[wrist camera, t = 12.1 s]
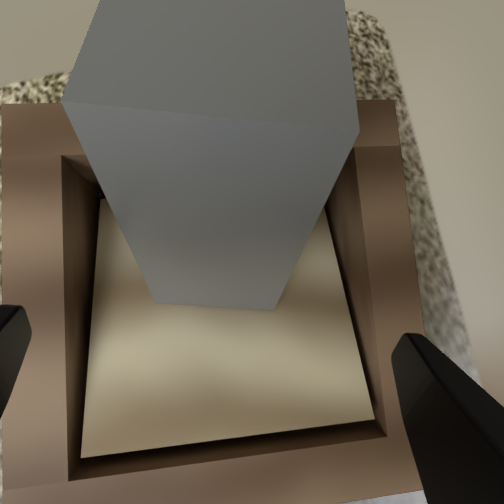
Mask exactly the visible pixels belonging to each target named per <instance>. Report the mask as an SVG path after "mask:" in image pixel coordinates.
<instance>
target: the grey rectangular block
mask: <svg viewBox="0 0 504 504" xmlns="http://www.w3.org/2000/svg"><path fill="white" fill-rule="evenodd" d="M61 103H62V105H63V107H64V109H65V112H66V114H67V116H68V118H69V120H70V122H71V124H72V126H73V129H74V131H75V133H76V135H77V137H78V139H79V141H80V143H81V146H82V148H83V150H84V152H85V154H86V156H87V158H88V160H89V163H90V165H91V167H92V169H93V171H94V173H95V175H96V177H97V180H98V182H99V184H100V186H101V188H102V190H103V192H104V194H105V197H106V199H107V201H108V203H109V205H110V207H111V209H112V211H113V214H114V216H115V218H116V220H117V222H118V224H119V226H120V228H121V231H122V233H123V235H124V237H125V239H126V241H127V243H128V245H129V248H130V250H131V252H132V254H133V256H134V258H135V260H136V262H137V265H138V267H139V269H140V271H141V273H142V275H143V277H144V279H145V282H146V284H147V286H148V288H149V290H150V292H151V294H152V297H153V299H154V301H155V303H165V304H180V305H194V306H209V307H223V308H238V309H252V310H267V311H274V309H275V307H276V305H277V303H278V301H279V299H280V297H281V295H282V292H283V290H284V288H285V286H286V284H287V282H288V280H289V278H290V276H291V274H292V272H293V269H294V267H295V265H296V263H297V261H298V259H299V257H300V255H301V253H302V251H303V249H304V247H305V244H306V242H307V240H308V238H309V236H310V234H311V232H312V230H313V228H314V226H315V224H316V222H317V219H318V217H319V215H320V213H321V211H322V209H323V207H324V205H325V203H326V201H327V199H328V197H329V194H330V192H331V190H332V188H333V186H334V184H335V182H336V180H337V178H338V176H339V174H340V172H341V169H342V167H343V165H344V163H345V161H346V159H347V157H348V155H349V153H350V151H351V149H352V147H353V144H354V142H355V140H356V138H357V136H358V134H359V132H360V128H359V119H358V111H357V103H356V94H355V86H354V78H353V69H352V61H351V53H350V44H349V36H348V28H347V19H346V11H345V4H344V0H100V2H99V4H98V7H97V10H96V12H95V15H94V17H93V20H92V23H91V25H90V27H89V31H88V32H87V35H86V38H85V40H84V43H83V45H82V48H81V50H80V53H79V55H78V58H77V60H76V63H75V65H74V68H73V71H72V73H71V76H70V78H69V81H68V83H67V86H66V88H65V91H64V93H63V96H62V98H61Z"/></svg>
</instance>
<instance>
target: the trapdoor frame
mask: <svg viewBox="0 0 504 504" xmlns="http://www.w3.org/2000/svg"><path fill="white" fill-rule="evenodd" d="M356 103H357V111H358V119H359V128H360V132H359V134H358V136H357V138H356V140H355V142H354V144H353V147H352V149H351V151H350V153H349V155H348V157H347V159H346V161H345V163H344V165H343V167H342V169H341V172H340V174H339V176H338V178H337V180H336V182H335V184H334V186H333V188H332V190H331V192H330V194H329V197H328V199H327V201H326V203H325V205H324V209H325V213H326V217H327V221H328V225H329V230H330V234H331V238H332V242H333V246H334V251H335V255H336V259H337V263H338V267H339V271H340V276H341V280H342V284H343V288H344V292H345V297H346V301H347V305H348V309H349V313H350V317H351V322H352V326H353V330H354V334H355V338H356V343H357V347H358V351H359V355H360V359H361V364H362V368H363V372H364V376H365V380H366V384H367V389H368V393H369V397H370V401H371V405H372V410H373V414H374V418H375V419H372V420H365V421H357V422H349V423H342V424H334V425H327V426H319V427H312V428H304V429H297V430H289V431H282V432H274V433H266V434H259V435H251V436H244V437H236V438H229V439H221V440H214V441H206V442H198V443H191V444H183V445H176V446H168V447H161V448H153V449H146V450H138V451H130V452H123V453H115V454H108V455H100V456H93V457H85V458H81V449H82V436H83V423H84V410H85V397H86V384H87V371H88V358H89V345H90V332H91V319H92V306H93V293H94V280H95V267H96V254H97V241H98V202H97V190H102V188H101V186H100V184H99V182H98V180H97V177H96V175H95V173H94V171H93V169H92V167H91V165H90V163H89V160H88V158H87V156H86V154H85V152H84V150H83V148H82V146H81V143H80V141H79V139H78V137H77V135H76V133H75V131H74V129H73V126H72V124H71V122H70V120H69V118H68V116H67V114H66V112H65V109H64V107H63V105H62V103H40V104H2V305H3V304H12V305H21V306H23V307H24V308H25V310H26V313H27V316H28V319H29V322H30V325H31V329H32V337H31V341H30V344H29V346H28V349H27V352H26V355H25V357H24V360H23V363H22V366H21V369H20V371H19V374H18V377H17V380H16V382H15V385H14V388H13V391H12V394H11V396H10V399H9V401H8V404H7V406H6V408H5V410H4V412H3V415H2V449H3V504H339V503H345V502H351V501H357V500H364V499H370V498H376V497H382V496H388V495H394V494H401V493H407V492H413V491H419V490H423V487H422V483H421V480H420V477H419V473H418V470H417V467H416V463H415V460H414V457H413V454H412V450H411V447H410V444H409V440H408V437H407V434H406V430H405V427H404V423H403V419H402V415H401V411H400V405H399V400H398V395H397V390H396V385H395V379H394V374H393V369H392V364H391V354H392V352H393V350H394V348H395V346H396V345H397V343H398V341H399V340H400V338H401V336H402V335H403V334H404V333H419V334H422V335H423V336H425V330H424V323H423V315H422V307H421V300H420V292H419V285H418V277H417V269H416V262H415V254H414V246H413V239H412V231H411V224H410V216H409V208H408V201H407V193H406V185H405V178H404V170H403V163H402V155H401V147H400V140H399V132H398V124H397V117H396V109H395V102H394V100H356Z"/></svg>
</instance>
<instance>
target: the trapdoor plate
mask: <svg viewBox="0 0 504 504" xmlns="http://www.w3.org/2000/svg"><path fill="white" fill-rule="evenodd" d="M372 419H375V418H374V414H373V410H372V405H371V401H370V397H369V393H368V389H367V384H366V380H365V376H364V372H363V368H362V364H361V359H360V355H359V351H358V347H357V343H356V338H355V334H354V330H353V326H352V322H351V317H350V313H349V309H348V305H347V301H346V297H345V292H344V288H343V284H342V280H341V276H340V271H339V267H338V263H337V259H336V255H335V251H334V246H333V242H332V238H331V234H330V230H329V225H328V221H327V217H326V213H325V209H324V207H323V209H322V211H321V213H320V215H319V217H318V219H317V222H316V224H315V226H314V228H313V230H312V232H311V234H310V236H309V238H308V240H307V242H306V244H305V247H304V249H303V251H302V253H301V255H300V257H299V259H298V261H297V263H296V265H295V267H294V269H293V272H292V274H291V276H290V278H289V280H288V282H287V284H286V286H285V288H284V290H283V292H282V295H281V297H280V299H279V301H278V303H277V305H276V307H275V309H274V311H267V310H252V309H238V308H223V307H209V306H194V305H180V304H165V303H155V301H154V299H153V297H152V294H151V292H150V290H149V288H148V286H147V284H146V282H145V279H144V277H143V275H142V273H141V271H140V269H139V267H138V265H137V262H136V260H135V258H134V256H133V254H132V252H131V250H130V248H129V245H128V243H127V241H126V239H125V237H124V235H123V233H122V231H121V228H120V226H119V224H118V222H117V220H116V218H115V216H114V214H113V211H112V209H111V207H110V205H109V203H108V201H107V199H101V202H100V215H99V228H98V241H97V254H96V267H95V280H94V293H93V306H92V319H91V332H90V345H89V358H88V371H87V384H86V397H85V410H84V423H83V436H82V449H81V458H85V457H93V456H100V455H108V454H115V453H123V452H130V451H138V450H146V449H153V448H161V447H168V446H176V445H183V444H191V443H198V442H206V441H214V440H221V439H229V438H236V437H244V436H251V435H259V434H266V433H274V432H282V431H289V430H297V429H304V428H312V427H319V426H327V425H334V424H342V423H349V422H357V421H365V420H372Z"/></svg>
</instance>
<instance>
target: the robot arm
mask: <svg viewBox="0 0 504 504" xmlns="http://www.w3.org/2000/svg"><path fill="white" fill-rule="evenodd" d="M31 337H32V329H31V325H30V322H29V319H28V316H27V313H26V310H25V308H24V307H23V306H21V305H12V304H3V305H0V419H1V417H2V415H3V412H4V410H5V408H6V406H7V404H8V401H9V399H10V396H11V394H12V391H13V388H14V385H15V382H16V380H17V377H18V374H19V371H20V369H21V366H22V363H23V360H24V357H25V355H26V352H27V349H28V346H29V344H30V341H31ZM391 364H392V369H393V374H394V379H395V385H396V390H397V395H398V400H399V405H400V411H401V415H402V419H403V423H404V427H405V430H406V434H407V437H408V440H409V444H410V447H411V450H412V454H413V457H414V460H415V463H416V467H417V470H418V473H419V477H420V480H421V483H422V487H423V490H424V493H425V497H426V500H427V503H428V504H504V407H503V406H502V405H500V404H499V403H498V402H497V401H496V400H495V399H494V398H493V397H491V396H490V395H489V394H488V393H487V392H486V391H485V390H484V389H483V388H482V387H480V386H479V385H478V384H477V383H476V382H475V381H474V380H473V379H471V378H470V377H469V376H468V375H467V374H466V373H465V372H464V371H463V370H461V369H460V368H459V367H458V366H457V365H456V364H455V363H454V362H453V361H451V360H450V359H449V358H448V357H447V356H446V355H445V354H444V353H442V352H441V351H440V350H439V349H438V348H437V347H436V346H435V345H434V344H432V343H431V342H430V341H429V340H428V339H427V338H426V337H425V336H423V335H422V334H419V333H404V334H403V335H402V336H401V338H400V340H399V341H398V343H397V345H396V346H395V348H394V350H393V352H392V354H391Z"/></svg>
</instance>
